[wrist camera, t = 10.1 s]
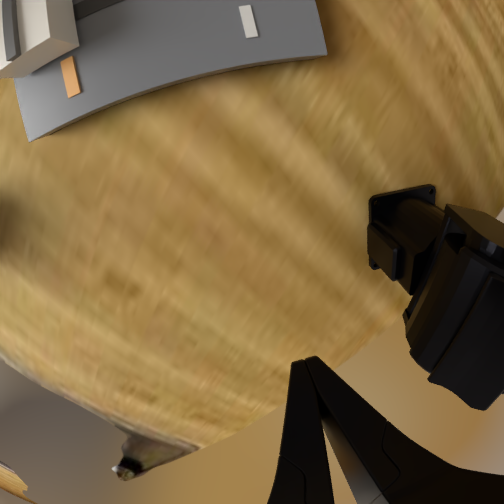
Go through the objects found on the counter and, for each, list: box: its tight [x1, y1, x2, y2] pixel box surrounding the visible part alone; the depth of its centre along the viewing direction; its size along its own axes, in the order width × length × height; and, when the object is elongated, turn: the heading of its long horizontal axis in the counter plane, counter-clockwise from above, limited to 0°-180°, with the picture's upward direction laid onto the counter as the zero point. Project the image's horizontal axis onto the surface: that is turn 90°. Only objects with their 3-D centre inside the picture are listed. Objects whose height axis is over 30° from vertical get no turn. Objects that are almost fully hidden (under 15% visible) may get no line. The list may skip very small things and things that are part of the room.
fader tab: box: [0, 0, 79, 78], centre depth 8 cm, size 4×5×4 cm
